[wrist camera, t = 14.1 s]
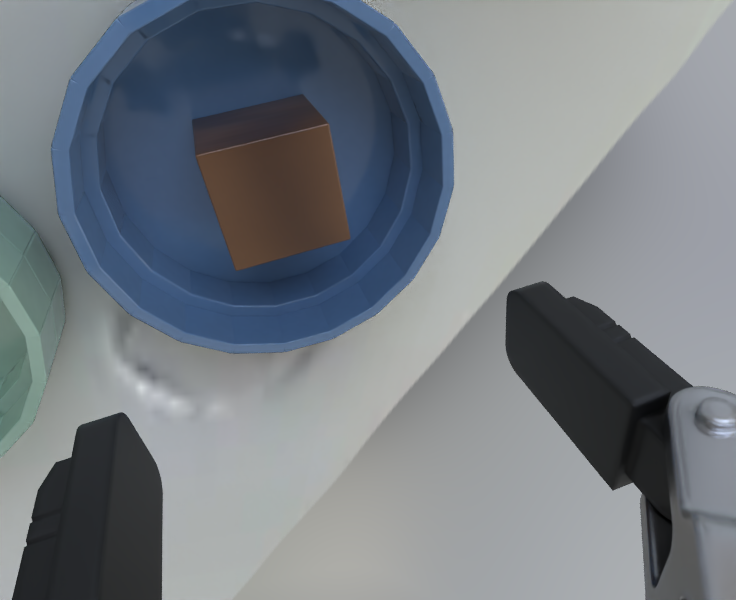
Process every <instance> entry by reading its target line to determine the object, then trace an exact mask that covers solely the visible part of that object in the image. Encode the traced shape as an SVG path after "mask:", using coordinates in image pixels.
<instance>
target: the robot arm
mask: <svg viewBox="0 0 736 600" xmlns="http://www.w3.org/2000/svg"><path fill="white" fill-rule="evenodd" d="M506 352H507V356H508V359H509V361H510V364H511V365H512V367H513V369H514V371H515V372H516V373H517V375H518V376H519V377H520V378H521V379H522V381H523V382H524V383H525V384H526V386H527V387H528V388H529V389H530V390H531V392H532V393H533V394H534V395H535V397H536V398H537V399H538V400H539V401H540V403H541V404H542V405H543V406H544V407H545V409H546V410H547V411H548V412H549V413H550V415H551V416H552V417H553V418H554V420H555V421H556V422H557V423H558V424H559V426H560V427H561V428H562V429H563V430H564V432H565V433H566V434H567V435H568V437H569V438H570V439H571V440H572V442H573V443H574V444H575V445H576V446H577V448H578V449H579V450H580V451H581V453H582V454H583V455H584V456H585V457H586V459H587V460H588V461H589V462H590V463H591V465H592V466H593V467H594V468H595V470H596V471H597V472H598V473H599V474H600V476H601V477H602V478H603V479H604V481H606V483H607V484H608V485H609V487H610V488H611V489H612V490H615V489H617V488H620V487H623V486H625V485H628V484H630V483H634V484H635V485H636V486H637V488H638V489H639V490H640V491H641V492H642V495H641V499H640V509H641V526H642V541H643V542H642V543H643V559H644V576H645V597H646V598H645V599H646V600H736V395H735V394H733V393H731V392H728V391H725V390H721V389H718V388H713V387H704V386H699V387H693V386H692V385H691V384H689V383H688V382H687V381H686V380H685V379H683V378H682V377H681V376H680V375H679V374H677V373H676V372H675V371H674V370H673V369H671V368H670V367H669V366H668V365H666V364H665V363H664V362H663V361H662V360H661V359H659V358H658V357H657V356H656V355H654V354H653V353H652V352H651V351H650V350H649V349H647V348H646V347H645V346H644V345H643V344H641V343H640V342H639V341H638V340H637V339H635V338H631V336H630V334H629V333H628V332H627V331H626V330H625V329H623V328H622V327H621V326H620V325H616V323H615V321H614V320H612V319H611V318H610V317H609V316H608V315H606V314H605V313H604V312H603V311H602V310H601V309H599V308H598V307H596V306H594V305H592V304H590V303H587V302H584V301H583V300H580V299H578V298H576V297H570V298H567V299H566V298H564V297H563V296H562V295H561V294H560V293H559V292H558V291H556V290H555V289H554V288H553V287H552V286H551V285H550V284H548V283H547V282H543V281H542V282H538V283H535V284H532V285H529V286H525V287H523V288H519V289H516V290H513V291H510V292H509V293H508V296H507V307H506ZM162 504H163V491H162V482H161V477H160V473H159V470H158V467H157V465H156V463H155V461H154V459H153V457H152V456H151V454H150V452H149V451H148V449H147V447H146V446H145V444H144V442H143V441H142V439H141V438H140V436H139V434H138V433H137V431H136V429H135V428H134V426H133V424H132V423H131V421H130V419H129V418H128V417H127V415H126V414H124V413H122V412H121V413H117V414H114V415H111V416H108V417H105V418H102V419H98V420H95V421H92V422H89V423H86V424H82V425H80V426H79V427H78V429H77V431H76V436H75V441H74V446H73V452H72V457H71V458H68V459H65V460H62V461H59V462H56V463H55V464H54V466H53V468H52V469H51V471H50V472H49V474H48V475H47V477H46V479H45V480H44V482H43V483H42V485H41V486H40V488H39V489H38V492H37V497H36V501H35V505H34V509H33V513H32V521H33V522H32V523H30V526H29V530H28V534H27V539H26V542H27V546H26V547H24V551H23V555H22V560H21V564H20V568H19V572H18V576H17V581H16V585H15V589H14V593H13V597H12V600H162Z"/></svg>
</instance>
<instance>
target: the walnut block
mask: <svg viewBox="0 0 736 600" xmlns="http://www.w3.org/2000/svg"><path fill="white" fill-rule="evenodd" d="M192 125H193V136H194V147H195V157H196V160H197V163H198V166H199V169H200V172H201V174H202V177H203V180H204V183H205V186H206V189H207V191H208V194H209V197H210V200H211V203H212V206H213V208H214V211H215V214H216V217H217V220H218V223H219V225H220V228H221V231H222V234H223V237H224V240H225V243H226V245H227V248H228V251H229V254H230V257H231V260H232V262H233V265H234V268H235V270H236V271H239V270H243V269H246V268H250V267H253V266H257V265H260V264H264V263H268V262H271V261H275V260H278V259H282V258H285V257H289V256H293V255H296V254H300V253H303V252H307V251H310V250H314V249H317V248H321V247H325V246H328V245H332V244H335V243H339V242H342V241H346V240H349V239H350V238H351V237H350V231H349V226H348V221H347V215H346V210H345V205H344V200H343V194H342V189H341V184H340V178H339V173H338V168H337V162H336V157H335V152H334V146H333V141H332V136H331V130H330V125H329V123H328V122H327V121H326V120H325V119H324V117H323V116H322V115H321V114H320V113H319V112H318V111H317V109H316V108H315V107H314V106H313V105H312V104H311V103H310V101H309V100H308V99H307V98H306V97H305V96H304V95H303V94H301V95H297V96H292V97H288V98H284V99H280V100H275V101H271V102H267V103H262V104H258V105H254V106H249V107H245V108H241V109H236V110H232V111H228V112H223V113H219V114H215V115H210V116H206V117H202V118H197V119H193V120H192Z"/></svg>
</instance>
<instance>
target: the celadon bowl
mask: <svg viewBox="0 0 736 600" xmlns="http://www.w3.org/2000/svg"><path fill="white" fill-rule="evenodd" d="M65 318H66V317H65V309H64V300H63V291H62V283H61V278H60V274H59V273H58V271H57V269H56V267H55V265H54V263H53V261H52V260H51V258H50V256H49V254H48V252H47V250H46V248H45V247H44V245H43V243H42V241H41V239H40V237H39V235H38V234H37V232H35V230H34V228H32V227H31V226H30V225H29V224H28V223H27V222H26V221H25V220H24V219H23V218H22V217H21V216H20V215H19V214H18V213H17V212H16V211H15V210H14V209H13V208H12V207H11V206H10V205H9V204H8V203H7V202H6V201H5V200H4V199H3V198H2V197H1V196H0V458H1V457H2V456H3V455H4V454H5V453H6V452H7V451H8V450H9V449H10V448H11V447H12V445H13V444H14V443H15V442H16V441H17V440H18V439H19V438H20V437H21V436H22V435H23V433H24V432H25V431H26V430H27V429H28V428H29V427H30V426H31V425H32V424H33V422H34V420H35V417H36V414H37V411H38V408H39V405H40V402H41V399H42V395H43V392H44V389H45V386H46V383H47V380H48V377H49V374H50V370H51V367H52V364H53V360H54V357H55V354H56V350H57V347H58V343H59V340H60V337H61V333H62V330H63V327H64V323H65Z"/></svg>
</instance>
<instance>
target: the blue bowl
mask: <svg viewBox="0 0 736 600" xmlns="http://www.w3.org/2000/svg"><path fill="white" fill-rule="evenodd" d="M301 94H303V95H304V96H305V97H306V98H307V99H308V100H309V101H310V103H311V104H312V105H313V106H314V107H315V108H316V109H317V111H318V112H319V113H320V114H321V115H322V116H323V117H324V119H325V120H326V121H327V122H328V123H329V125H330V130H331V136H332V141H333V146H334V152H335V157H336V162H337V168H338V173H339V178H340V184H341V189H342V194H343V200H344V205H345V210H346V215H347V221H348V226H349V231H350V237H351V238H350V239H349V240H346V241H342V242H339V243H335V244H332V245H328V246H325V247H321V248H317V249H314V250H310V251H307V252H303V253H300V254H296V255H293V256H289V257H285V258H282V259H278V260H275V261H271V262H268V263H264V264H260V265H257V266H253V267H250V268H246V269H243V270H239V271H236V270H235V268H234V265H233V262H232V260H231V257H230V254H229V251H228V248H227V245H226V243H225V240H224V237H223V234H222V231H221V228H220V225H219V223H218V220H217V217H216V214H215V211H214V208H213V206H212V203H211V200H210V197H209V194H208V191H207V189H206V186H205V183H204V180H203V177H202V174H201V172H200V169H199V166H198V163H197V160H196V157H195V147H194V136H193V125H192V120H193V119H197V118H202V117H206V116H210V115H215V114H219V113H223V112H228V111H232V110H236V109H241V108H245V107H249V106H254V105H258V104H262V103H267V102H271V101H275V100H280V99H284V98H288V97H292V96H297V95H301ZM51 147H52V148H51V156H52V165H53V174H54V183H55V192H56V201H57V210H58V215H59V218H60V220H61V222H62V224H63V226H64V228H65V230H66V232H67V234H68V236H69V238H70V240H71V242H72V244H73V246H74V248H75V250H76V252H77V254H78V256H79V258H80V260H81V262H82V264H83V266H84V268H85V270H86V271H87V272H88V274H89V275H90V276H91V277H92V278H93V279H94V280H95V281H96V282H97V283H98V284H99V285H100V286H101V287H102V288H103V289H104V290H105V291H106V292H107V293H108V294H109V295H110V296H111V297H112V298H113V299H114V300H115V301H116V302H117V303H118V304H119V305H120V306H121V307H122V308H123V309H124V310H125V311H126V312H127V313H128V314H130V315H131V316H133V317H135V318H137V319H138V320H140V321H142V322H144V323H146V324H148V325H150V326H151V327H153V328H155V329H157V330H159V331H161V332H163V333H164V334H166V335H168V336H170V337H172V338H174V339H176V340H178V341H180V342H183V343H188V344H192V345H196V346H201V347H205V348H210V349H214V350H218V351H223V352H227V353H233V354H239V353H276V352H284V351H285V352H288V351H291V350H295V349H298V348H302V347H306V346H309V345H313V344H316V343H320V342H324V341H327V340H331V339H333V338H336V337H337V336H339V335H341V334H343V333H344V332H346V331H348V330H350V329H351V328H353V327H355V326H357V325H359V324H360V323H362V322H364V321H366V320H367V319H369V318H371V317H373V316H375V315H376V313H379V312H380V311H381V310H382V309H383V308H384V307H385V306H386V305H387V304H388V303H389V302H390V301H391V300H392V299H393V298H394V297H395V296H396V295H398V294H399V293H400V292H401V291H402V290H403V289H404V288H405V287H406V286H407V285H408V284H409V283H410V282H411V281H412V279H414V278H415V276H416V274H417V273H418V271H419V269H420V268H421V266H422V265H423V263H424V261H425V260H426V258H427V256H428V255H429V253H430V252H431V250H432V248H433V247H434V245H435V243H436V242H437V240H438V239H439V236H440V233H441V230H442V226H443V223H444V219H445V216H446V212H447V209H448V205H449V202H450V198H451V195H452V191H453V188H454V153H453V129H452V126H451V123H450V120H449V117H448V114H447V111H446V108H445V105H444V102H443V99H442V96H441V93H440V90H439V87H438V84H437V81H436V78H435V75H434V74H433V72H432V71H431V69H430V68H429V67H428V65H427V64H426V63H425V61H424V60H423V59H422V57H421V56H420V55H419V53H418V52H417V51H416V50H415V48H414V47H413V46H412V44H411V43H410V42H409V40H408V39H407V38H406V36H405V35H404V34H403V33H402V31H401V30H400V29H399V27H398V26H397V25H396V24H395V23H394V22H393V21H392V20H390V19H389V18H387V17H386V16H384V15H382V14H381V13H379V12H378V11H376V10H375V9H373V8H372V7H370V6H369V5H367V4H366V3H364V2H362V1H361V0H136V1H134V2H133V3H131V4H129V5H128V7H126V8H125V9H124V10H123V11H122V13H121V14H120V15H119V16H118V17H117V18H116V19H115V20H114V22H113V23H112V24H111V26H110V27H109V28H108V29H107V31H106V32H105V33H104V35H103V36H102V37H101V39H100V40H99V41H98V42H97V44H96V45H95V46H94V48H93V49H92V50H91V51H90V53H89V54H88V55H87V57H86V58H85V59H84V60H83V62H82V63H81V64H80V66H79V67H78V68H77V69H76V71H75V72H74V73H73V75H72V76H71V79H70V80H69V83H68V86H67V90H66V94H65V97H64V101H63V105H62V108H61V112H60V115H59V119H58V123H57V126H56V130H55V134H54V137H53V141H52V145H51Z"/></svg>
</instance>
